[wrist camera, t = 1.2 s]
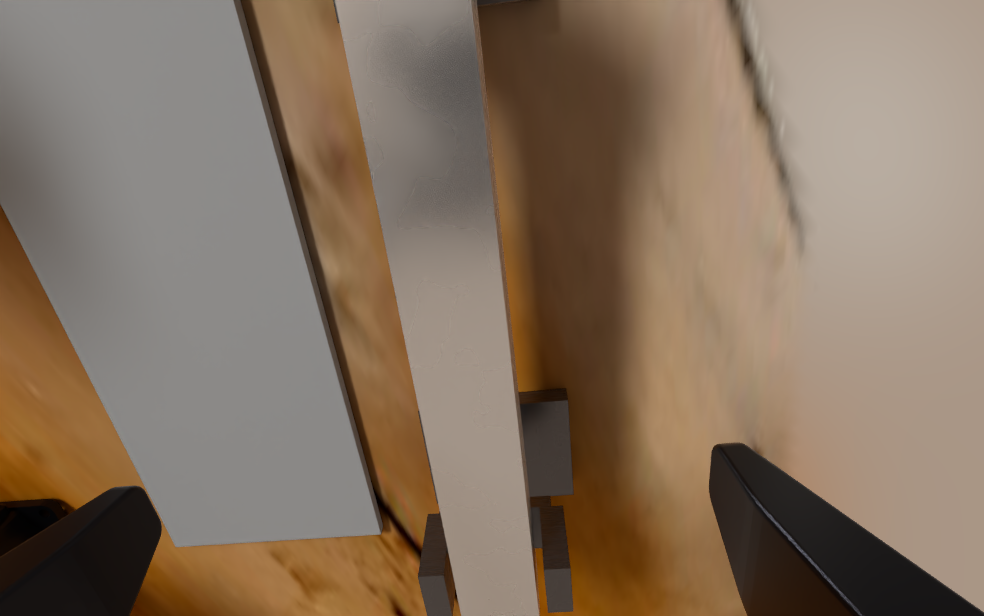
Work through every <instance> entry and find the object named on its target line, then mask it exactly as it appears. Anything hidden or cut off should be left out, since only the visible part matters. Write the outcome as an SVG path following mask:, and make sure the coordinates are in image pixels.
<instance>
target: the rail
mask: <svg viewBox="0 0 984 616" xmlns="http://www.w3.org/2000/svg"><path fill="white" fill-rule="evenodd" d="M335 3H336V8H337V13H338V18H339V22H340V27H341V32H342V37H343V42H344V47H345V52H346V56H347V61H348V66H349V71H350V76H351V81H352V86H353V91H354V95H355V100H356V105H357V110H358V115H359V120H360V125H361V129H362V134H363V139H364V144H365V149H366V154H367V159H368V164H369V168H370V173H371V178H372V183H373V188H374V193H375V198H376V202H377V207H378V212H379V217H380V222H381V227H382V232H383V237H384V241H385V246H386V251H387V256H388V261H389V266H390V271H391V275H392V280H393V285H394V290H395V295H396V300H397V305H398V310H399V314H400V319H401V324H402V329H403V334H404V339H405V344H406V348H407V353H408V358H409V363H410V368H411V373H412V378H413V383H414V387H415V392H416V397H417V402H418V407H419V412H420V417H421V421H422V426H423V431H424V436H425V441H426V446H427V451H428V456H429V460H430V465H431V470H432V475H433V480H434V485H435V490H436V494H437V499H438V504H439V509H440V514H441V519H442V524H443V528H444V533H445V538H446V543H447V548H448V553H449V558H450V563H451V567H452V572H453V577H454V582H455V587H456V592H457V597H458V601H459V606H460V611H461V616H540V607H539V590H538V573H537V561H536V552H535V543H534V533H533V524H532V514H531V505H530V496H529V486H528V477H527V468H526V458H525V449H524V440H523V430H522V421H521V411H520V402H519V393H518V383H517V374H516V365H515V355H514V346H513V336H512V327H511V318H510V308H509V299H508V290H507V280H506V271H505V262H504V252H503V243H502V233H501V224H500V215H499V205H498V196H497V187H496V177H495V168H494V158H493V149H492V140H491V130H490V121H489V112H488V102H487V93H486V83H485V74H484V65H483V55H482V46H481V37H480V27H479V18H478V9H477V0H335Z"/></svg>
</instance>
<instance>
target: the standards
mask: <svg viewBox="0 0 984 616" xmlns="http://www.w3.org/2000/svg"><path fill="white" fill-rule="evenodd" d="M519 1H527V0H477V7H479V6H487V5H495V4H503V3H511V2H519ZM333 2H334V7H335V11H336V16H337V21H338V23H340V22H339V18H338V13H337V8H336V3H335V0H333ZM518 393H519V402H520V411H521V421H522V430H523V440H524V449H525V458H526V468H527V477H528V486H529V496H530V505H531V514H532V524H533V533H534V543H535V548H542V549H543V563H544V575H545V585H546V595H547V605H548V613H550V612H570V611H573V600H572V585H571V571H570V562H569V553H568V545H567V537H566V529H565V520H564V512H563V506H551V501H550V496H558V495H573V477H572V460H571V443H570V427H569V410H568V398H567V392H566V389H555V390H543V391H530V392H518ZM418 413H419V418H420V423H421V427H422V432H423V437H424V442H425V447H426V452H427V456H428V451H427V446H426V441H425V436H424V431H423V426H422V421H421V417H420V412H419V411H418ZM428 461H429V466H430V471H431V476H432V481H433V485H434V480H433V475H432V470H431V465H430V460H429V456H428ZM434 490H435V485H434ZM435 495H436V500H437V503H438V499H437V494H436V490H435ZM418 579H419V584H420V588H421V592H422V596H423V600H424V604H425V608H426V612H427V616H453V607H454V596H455V582H454V577H453V572H452V567H451V563H450V558H449V553H448V548H447V543H446V538H445V533H444V528H443V524H442V519H441V514H440V512H439V514H428V517H427V523H426V530H425V536H424V542H423V548H422V554H421V561H420V567H419V573H418Z"/></svg>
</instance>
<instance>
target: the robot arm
mask: <svg viewBox="0 0 984 616" xmlns="http://www.w3.org/2000/svg"><path fill="white" fill-rule="evenodd" d="M709 493H710V498H711V503H712V506H713V509H714V512H715V516H716V519H717V522H718V526H719V529H720V532H721V536H722V539H723V542H724V545H725V549H726V552H727V555H728V559H729V562H730V565H731V568H732V572H733V575H734V578H735V582H736V585H737V588H738V591H739V594H740V597H741V600H742V603H743V605H744V608H745V610H746V613H747V615H748V616H984V612H982V611H981V610H980V609H978V608H976V607H975V606H974V605H972V604H971V603H969V602H968V601H967V600H965V599H964V598H962V597H961V596H960V595H958V594H957V593H955V592H954V591H952V590H951V589H950V588H948V587H947V586H945V585H944V584H943V583H941V582H940V581H938V580H937V579H936V578H934V577H933V576H931V575H930V574H928V573H927V572H926V571H924V570H923V569H921V568H920V567H918V566H917V565H916V564H914V563H913V562H911V561H910V560H909V559H907V558H906V557H904V556H903V555H901V554H900V553H899V552H897V551H896V550H894V549H893V548H892V547H890V546H889V545H887V544H886V543H884V542H883V541H882V540H880V539H878V538H877V537H876V536H874V535H873V534H872V533H870V532H869V531H867V530H866V529H864V528H863V527H862V526H860V525H859V524H857V523H856V522H855V521H853V520H852V519H850V518H849V517H847V516H846V515H845V514H843V513H842V512H840V511H839V510H838V509H836V508H835V507H833V506H832V505H830V504H829V503H828V502H826V501H825V500H823V499H822V498H820V497H819V496H818V495H816V494H815V493H813V492H812V491H811V490H809V489H808V488H806V487H805V486H803V485H802V484H801V483H799V482H798V481H796V480H795V479H794V478H792V477H791V476H789V475H788V474H786V473H785V472H784V471H782V470H781V469H779V468H778V467H777V466H775V465H774V464H772V463H771V462H769V461H768V460H767V459H765V458H764V457H762V456H761V455H759V454H758V453H757V452H755V451H754V450H752V449H751V448H750V447H748V446H747V445H745V444H743V443H724V444H717V445H715V446H714V447H713V450H712V454H711V466H710V479H709ZM161 530H162V526H161V521H160V519H159V517H158V515H157V513H156V511H155V509H154V507H153V505H152V503H151V501H150V499H149V498H148V496H147V494H146V492H145V490H144V489H142V488H141V487H139V486H123V487H115V488H111V489H109V490H107V491H106V492H104V493H103V494H101V495H99V496H98V497H96V498H94V499H93V500H91V501H90V502H88V503H86V504H85V505H83V506H82V507H80V508H78V509H77V510H75V511H74V512H72V513H70V514H69V515H66V514H65V512H64V511H63V509H62V507H61V506H60V505H59V504H58V503H57V502H55V501H53V500H50V499H40V500H26V501H11V502H0V616H130V613H131V611H132V608H133V606H134V603H135V601H136V598H137V596H138V593H139V590H140V588H141V585H142V583H143V580H144V578H145V575H146V573H147V570H148V568H149V565H150V562H151V560H152V557H153V555H154V552H155V550H156V547H157V545H158V542H159V539H160V536H161Z"/></svg>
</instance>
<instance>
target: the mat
mask: <svg viewBox="0 0 984 616" xmlns="http://www.w3.org/2000/svg"><path fill="white" fill-rule="evenodd" d="M0 204H1V206H2V208H3V210H4V212H5V214H6V216H7V218H8V220H9V222H10V224H11V226H12V227H13V229H14V231H15V233H16V235H17V237H18V239H19V241H20V243H21V245H22V247H23V249H24V251H25V253H26V255H27V257H28V259H29V261H30V263H31V265H32V267H33V269H34V271H35V272H36V274H37V276H38V278H39V280H40V282H41V284H42V286H43V288H44V290H45V292H46V294H47V296H48V298H49V300H50V302H51V304H52V306H53V308H54V310H55V312H56V314H57V316H58V317H59V319H60V321H61V323H62V325H63V327H64V329H65V331H66V333H67V335H68V337H69V339H70V341H71V343H72V345H73V347H74V349H75V351H76V353H77V355H78V357H79V359H80V360H81V362H82V364H83V366H84V368H85V370H86V372H87V374H88V376H89V378H90V380H91V382H92V384H93V386H94V388H95V390H96V392H97V394H98V396H99V398H100V400H101V402H102V404H103V405H104V407H105V409H106V411H107V413H108V415H109V417H110V419H111V421H112V423H113V425H114V427H115V429H116V431H117V433H118V435H119V437H120V439H121V441H122V443H123V445H124V447H125V448H126V450H127V452H128V454H129V456H130V458H131V460H132V462H133V464H134V466H135V468H136V470H137V472H138V474H139V476H140V478H141V480H142V482H143V484H144V486H145V488H146V490H147V492H148V493H149V495H150V497H151V499H152V501H153V503H154V505H155V507H156V509H157V511H158V513H159V515H160V517H161V519H162V521H163V523H164V525H165V527H166V529H167V531H168V533H169V535H170V536H171V538H172V540H173V542H174V544H175V546H176V547H184V546H200V545H216V544H232V543H248V542H265V541H281V540H297V539H313V538H329V537H345V536H361V535H378V534H381V532H382V528H383V524H382V520H381V516H380V513H379V509H378V505H377V502H376V498H375V494H374V491H373V487H372V483H371V480H370V476H369V472H368V469H367V465H366V461H365V458H364V454H363V450H362V446H361V443H360V439H359V435H358V432H357V428H356V424H355V421H354V417H353V413H352V410H351V406H350V402H349V399H348V395H347V391H346V388H345V384H344V380H343V376H342V373H341V369H340V365H339V362H338V358H337V354H336V351H335V347H334V343H333V340H332V336H331V332H330V329H329V325H328V321H327V318H326V314H325V310H324V306H323V303H322V299H321V295H320V292H319V288H318V284H317V281H316V277H315V273H314V270H313V266H312V262H311V259H310V255H309V251H308V248H307V244H306V240H305V236H304V233H303V229H302V225H301V222H300V218H299V214H298V211H297V207H296V203H295V200H294V196H293V192H292V189H291V185H290V181H289V178H288V174H287V170H286V166H285V163H284V159H283V155H282V152H281V148H280V144H279V141H278V137H277V133H276V130H275V126H274V122H273V119H272V115H271V111H270V108H269V104H268V100H267V96H266V93H265V89H264V85H263V82H262V78H261V74H260V71H259V67H258V63H257V60H256V56H255V52H254V49H253V45H252V41H251V38H250V34H249V30H248V26H247V23H246V19H245V15H244V12H243V8H242V4H241V1H240V0H0Z"/></svg>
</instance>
